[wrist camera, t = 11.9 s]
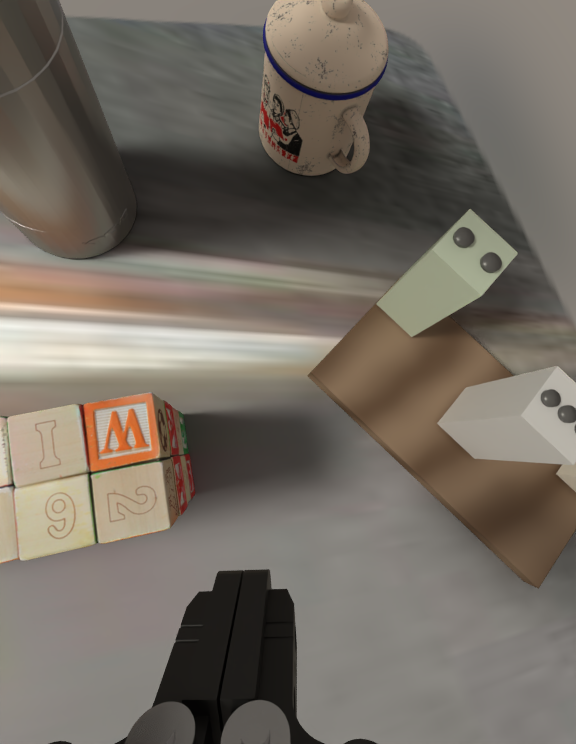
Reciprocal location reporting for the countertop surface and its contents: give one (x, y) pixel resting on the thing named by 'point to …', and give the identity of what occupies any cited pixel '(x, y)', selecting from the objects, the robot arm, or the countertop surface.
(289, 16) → the teacup with lid
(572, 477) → the one dot key
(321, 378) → the brown wooden board
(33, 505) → the stack of blocks
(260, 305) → the countertop surface
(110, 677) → the countertop surface
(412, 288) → the two dot key
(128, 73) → the countertop surface
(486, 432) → the three dot key
